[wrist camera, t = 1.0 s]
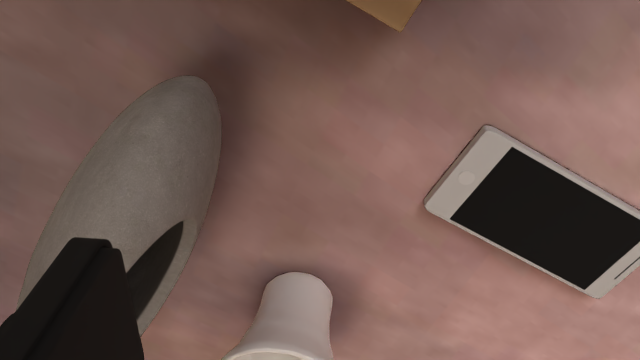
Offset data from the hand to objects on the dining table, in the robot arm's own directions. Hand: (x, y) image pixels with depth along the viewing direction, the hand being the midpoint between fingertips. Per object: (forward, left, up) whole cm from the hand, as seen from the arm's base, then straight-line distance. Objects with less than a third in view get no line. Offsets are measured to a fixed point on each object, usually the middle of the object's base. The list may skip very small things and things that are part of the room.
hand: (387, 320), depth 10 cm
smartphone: (+7, +18, -26) cm, 33 cm away
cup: (+23, +7, -26) cm, 36 cm away
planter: (+16, -6, -26) cm, 31 cm away
